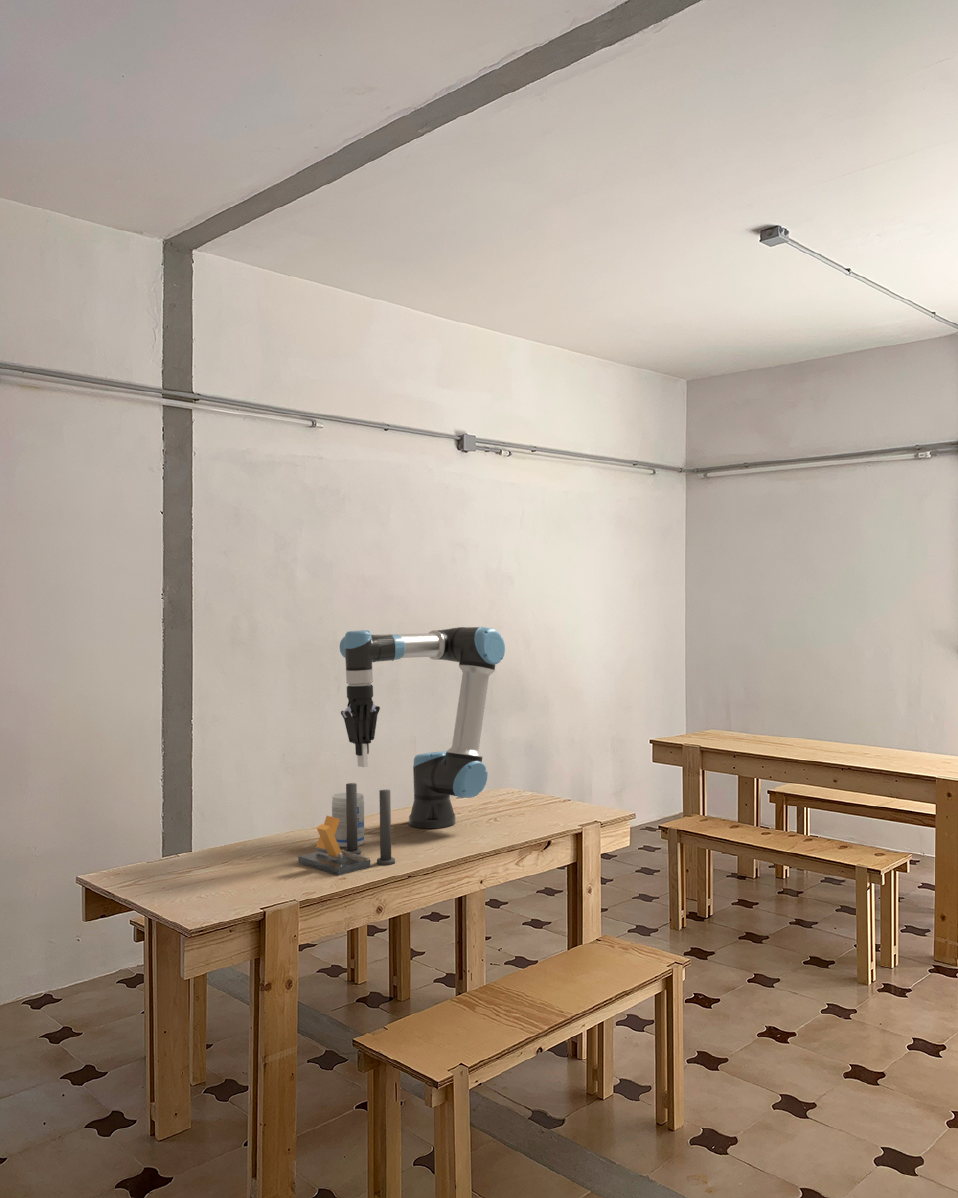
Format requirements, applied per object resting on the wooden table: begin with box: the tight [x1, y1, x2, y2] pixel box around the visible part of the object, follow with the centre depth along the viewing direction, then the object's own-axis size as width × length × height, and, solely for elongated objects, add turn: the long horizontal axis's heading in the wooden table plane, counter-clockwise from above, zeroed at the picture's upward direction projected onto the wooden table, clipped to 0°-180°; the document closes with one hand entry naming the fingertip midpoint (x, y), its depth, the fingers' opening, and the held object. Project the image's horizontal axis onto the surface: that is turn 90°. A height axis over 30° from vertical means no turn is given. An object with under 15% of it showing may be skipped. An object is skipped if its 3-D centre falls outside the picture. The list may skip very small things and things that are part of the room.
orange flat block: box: [315, 815, 340, 853], centre depth 272 cm, size 2×4×10 cm, turn 46°
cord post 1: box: [343, 782, 362, 855], centre depth 279 cm, size 5×5×20 cm
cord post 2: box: [376, 789, 396, 866], centre depth 268 cm, size 5×5×20 cm
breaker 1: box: [316, 823, 343, 859], centre depth 264 cm, size 2×4×10 cm, turn 45°
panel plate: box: [297, 849, 371, 876], centre depth 267 cm, size 11×18×3 cm, turn 45°
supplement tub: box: [331, 792, 365, 848], centre depth 290 cm, size 10×10×15 cm
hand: (362, 766), depth 278 cm, fingers closed
